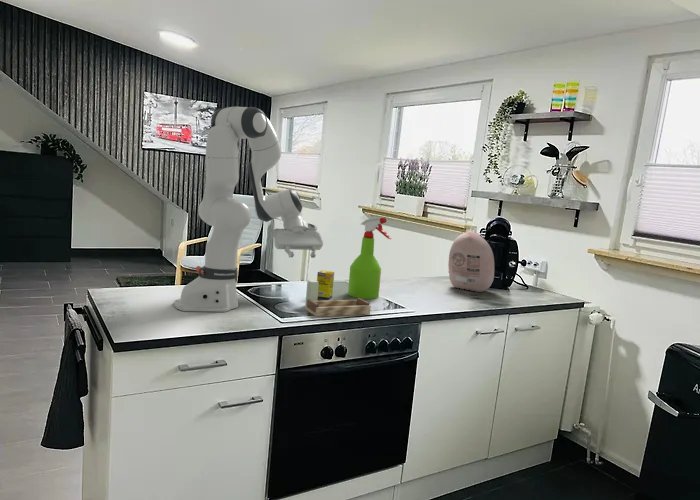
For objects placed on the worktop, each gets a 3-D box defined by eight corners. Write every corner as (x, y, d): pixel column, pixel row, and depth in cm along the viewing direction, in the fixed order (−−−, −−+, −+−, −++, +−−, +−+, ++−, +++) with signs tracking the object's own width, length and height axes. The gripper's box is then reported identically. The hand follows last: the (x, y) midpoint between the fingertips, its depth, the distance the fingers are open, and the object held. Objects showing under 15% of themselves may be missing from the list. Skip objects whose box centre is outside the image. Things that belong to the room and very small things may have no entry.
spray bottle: (377, 302, 216) (385, 218, 212) (341, 294, 226) (348, 214, 222) (393, 298, 228) (401, 218, 223) (358, 290, 238) (365, 214, 233)
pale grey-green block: (309, 308, 197) (311, 282, 196) (305, 305, 200) (307, 280, 199) (316, 307, 198) (318, 282, 197) (312, 305, 202) (314, 279, 200)
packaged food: (495, 291, 266) (502, 233, 262) (483, 296, 249) (491, 234, 245) (454, 284, 277) (461, 228, 273) (440, 288, 260) (447, 229, 257)
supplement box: (329, 299, 214) (331, 273, 212) (315, 297, 215) (317, 271, 213) (332, 297, 219) (334, 271, 218) (318, 295, 221) (320, 269, 219)
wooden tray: (316, 316, 185) (317, 305, 185) (305, 309, 194) (306, 298, 193) (369, 314, 196) (370, 303, 195) (357, 307, 204) (358, 297, 204)
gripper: (273, 223, 208) (280, 251, 200) (320, 225, 217) (328, 252, 210) (269, 233, 212) (275, 261, 205) (314, 235, 222) (322, 261, 214)
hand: (302, 256), depth 207 cm, fingers open, 8 cm apart
